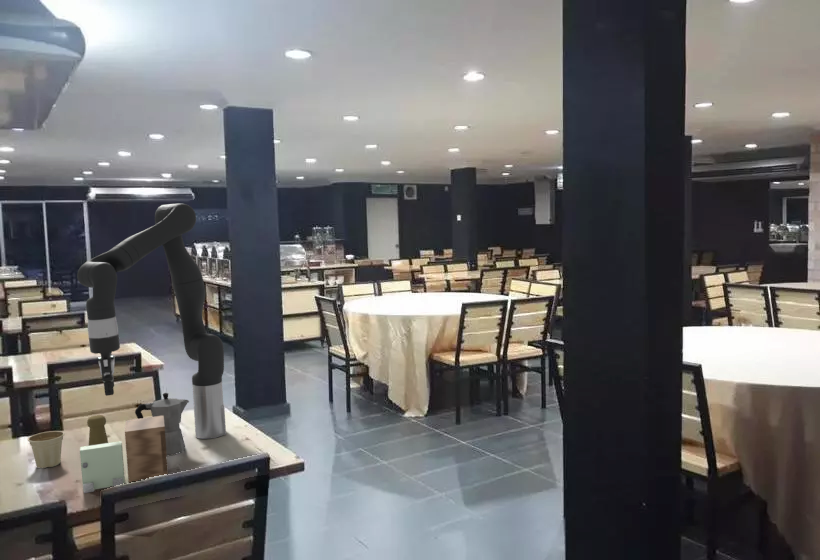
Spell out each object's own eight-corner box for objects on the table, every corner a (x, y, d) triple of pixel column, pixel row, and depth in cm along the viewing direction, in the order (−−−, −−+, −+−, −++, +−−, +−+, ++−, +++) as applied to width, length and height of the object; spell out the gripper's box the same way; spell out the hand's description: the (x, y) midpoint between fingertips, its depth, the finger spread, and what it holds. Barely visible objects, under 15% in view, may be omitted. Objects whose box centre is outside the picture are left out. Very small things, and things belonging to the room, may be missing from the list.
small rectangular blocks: (123, 478, 182) (123, 470, 181) (123, 486, 176) (122, 477, 176) (85, 484, 178) (84, 476, 178) (83, 493, 173) (83, 484, 172)
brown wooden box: (166, 462, 193) (163, 415, 191) (168, 475, 182) (164, 426, 181) (129, 468, 189) (125, 420, 187) (128, 482, 179) (124, 431, 177)
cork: (101, 454, 201) (98, 419, 199) (83, 454, 202) (80, 418, 201) (114, 447, 206) (111, 413, 205) (96, 447, 208) (93, 412, 207)
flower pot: (39, 459, 198) (37, 431, 197) (72, 457, 199) (69, 429, 198) (23, 471, 189) (21, 442, 188) (58, 469, 190) (55, 440, 189)
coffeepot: (189, 442, 209) (186, 386, 208) (194, 451, 201) (190, 393, 199) (137, 451, 203) (132, 393, 201) (139, 461, 194) (135, 401, 192)
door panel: (124, 480, 180) (121, 441, 179) (124, 485, 177) (121, 445, 176) (84, 487, 177) (80, 447, 176) (82, 492, 173) (79, 451, 172)
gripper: (118, 336, 178) (124, 395, 180) (118, 328, 191) (124, 383, 193) (87, 340, 175) (94, 400, 177) (89, 331, 188) (96, 387, 190)
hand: (109, 391), depth 185 cm, fingers open, 8 cm apart
